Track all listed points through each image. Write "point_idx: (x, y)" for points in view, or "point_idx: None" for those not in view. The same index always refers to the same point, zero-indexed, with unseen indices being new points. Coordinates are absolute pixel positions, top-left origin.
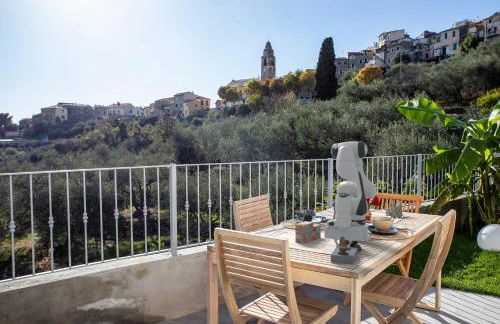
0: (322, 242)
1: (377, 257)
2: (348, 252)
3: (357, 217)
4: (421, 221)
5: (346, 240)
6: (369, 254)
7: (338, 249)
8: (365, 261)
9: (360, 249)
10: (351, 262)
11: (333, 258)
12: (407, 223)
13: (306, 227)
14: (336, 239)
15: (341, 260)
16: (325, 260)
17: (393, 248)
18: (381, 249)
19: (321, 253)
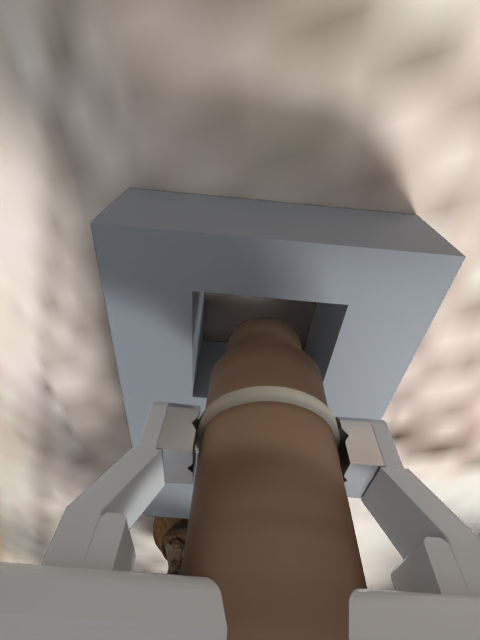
0: (385, 579)
1: (3, 432)
2: (200, 401)
3: None
4: None
5: (183, 567)
6: (82, 472)
7: None
8: (43, 327)
9: (154, 522)
10: (143, 195)
11: (398, 230)
12: None
13: None
14: (448, 590)
15: (280, 214)
16: (467, 266)
17: (3, 552)
18: (52, 538)
19: (445, 443)
